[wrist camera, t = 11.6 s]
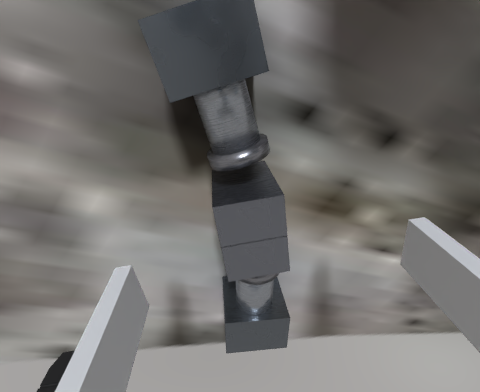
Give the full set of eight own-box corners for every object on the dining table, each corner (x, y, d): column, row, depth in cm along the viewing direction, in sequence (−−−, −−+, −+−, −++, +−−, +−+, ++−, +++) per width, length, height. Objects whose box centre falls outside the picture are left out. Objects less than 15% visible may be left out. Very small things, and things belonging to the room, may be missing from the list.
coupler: (270, 222, 22) (289, 270, 17) (224, 230, 22) (228, 281, 17) (264, 160, 20) (284, 195, 15) (212, 169, 20) (212, 207, 14)
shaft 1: (158, 33, 16) (137, 19, 11) (238, 6, 16) (249, -18, 11) (203, 155, 19) (200, 181, 15) (269, 134, 19) (287, 154, 15)
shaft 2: (220, 237, 22) (223, 279, 18) (278, 234, 23) (294, 274, 18) (223, 304, 26) (226, 353, 21) (273, 299, 26) (286, 347, 22)
